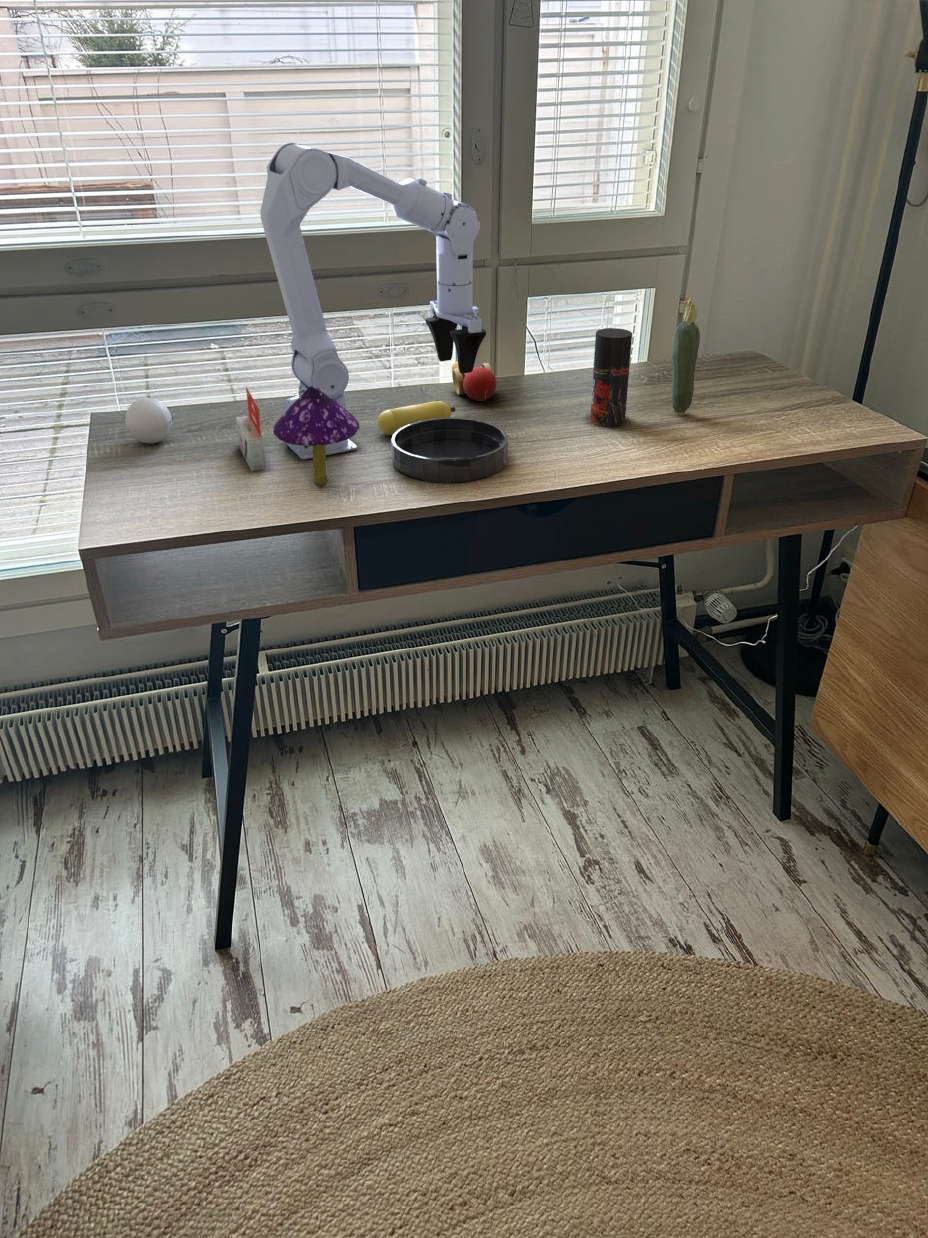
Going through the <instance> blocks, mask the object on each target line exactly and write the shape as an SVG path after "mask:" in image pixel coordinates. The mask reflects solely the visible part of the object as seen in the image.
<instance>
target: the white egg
mask: <svg viewBox="0 0 928 1238" xmlns="http://www.w3.org/2000/svg"><path fill="white" fill-rule="evenodd" d="M124 418H125V420H124V421H125V426H126V429H127V431H128V433H129V434H130V435H131V436H132V438H134V439H136V440H137V441H138V442H140V443H145V444H148V445H149V444H157V443H160V442H161V441H164V440H165V439H166V437H168V436H169V434H170V432H171V430H172V427H173V420H174V419H173V418H174V417H173V416H172V415H171V412H170V409H169V408H168V407H167V406H166V404H164V403H163V402H162V401H160V400H158V399H157V398H151V397H141V398H139V399H136V400H135V401H133V402H132V403H131V404H130V405H129V407H128V408H127V410H126V413H125V415H124Z"/></svg>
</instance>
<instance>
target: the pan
mask: <svg viewBox="0 0 928 1238" xmlns="http://www.w3.org/2000/svg"><path fill="white" fill-rule="evenodd" d="M391 436H392V437H391V440H390V443H391V460H392V464H393V466H394V468H396V469H397V470H398V471H399V472H401V473H403V474H404V475H407V476H409V477H411V478H413V479H417V480H420V481H425V482H427V481H428V482H432V483H446V484H447V483H465V482H472V481H477V480H481V479H483V478H487V477H490V476H492V475H494V474H496V473H497V472H499V471H501V470H502V469H504V467H505V466H506V465H507V463H508V459H509V458H508V454H509V453H508V452H509V435H508V434H507V432H506V431H505V430H504V429H502V428H501V427H500V426H498V425H495V424H493V423H491V422H489V421H484V420H479V419H474V418H465V417H464V418H463V417H450V418H437V419H429V420H423V421H418V422H415V423H412V424H409V425H406V426H404V427H402V428H400V429H398V430H397V431H396V432H395V433H394V434H393V435H391Z"/></svg>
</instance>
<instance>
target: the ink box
mask: <svg viewBox="0 0 928 1238" xmlns="http://www.w3.org/2000/svg"><path fill="white" fill-rule="evenodd" d="M245 390H246V391H245V392H246V400H247V408H248V409H247V411H248V415H245V416H243V415H242V416H236V417H235V420H236V428H237V436H238V444H239V449H240V451H241V453H242V455H243V457H244V459H245V461H246V464H247V466H248V468H249V469H250V472H256V471H262V470H265V469H266V460H265V454H264V453H265V452H264V444H263V437H262V429H261V419H260V409H259V406H258V405H257V403H256V401H255V400H254V397H253V396H252V393H251V392H250V390H249V388H248V387H246V388H245Z"/></svg>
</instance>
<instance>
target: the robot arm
mask: <svg viewBox="0 0 928 1238" xmlns="http://www.w3.org/2000/svg"><path fill="white" fill-rule="evenodd" d="M266 175H267V176H266V177H267V178H266V183H265V187H264V191H263V193H264V194H263V197H262V203H261V207H260V213H259V214H260V221H261V224H262V228H263V231H264V235H265V239H266V242H267V245H268V250H269V253H270V256H271V260H272V263H273V266H274V272H275V275H276V278H277V281H278V286H279V289H280V292H281V296H282V300H283V303H284V307H285V311H286V314H287V317H288V321H289V325H290V329H291V332H292V337H291V341H290V346H291V350H292V357H291V361H290V362H291V363H290V367H291V370H292V373H293V375H294V377H295V378H296V379H297V380H298V381H299V386H298V390H297V395H294V396H293V397H289V398H286V399H285V400H284V403H283V412H284V413H285V412H286V411H287V410H288V408H289V407H290V406H291V405H292V404H293V403H294V402H295V401H296V400H297V399H298V398H299V397H300V396H301V395H302V394H303V393H304V392H305V391H306V390H307V388H309V387H310V386H316V387H318V388H319V389H321V390H322V391H323V392H324V393H325V394H326V395H328V396H329V397H331V398H333V399H334V400H336V401H337V402H338V403H339V404H340V405H341V406H342V407H343V408H344V409H346V408H347V407H346V398H345V397H346V394H345V391H346V389H347V387H348V384H349V380H350V374H349V370H348V367H347V365H346V364H345V363H344V362H343V360H341V359H340V357H339V354H338V350H337V348H336V345H335V344H334V341H333V340H332V338H331V336H330V334H329V333H328V330H327V326H326V322H325V317H324V314H323V310H322V307H321V303H320V299H319V296H318V295H319V294H318V291H317V287H316V283H315V279H314V275H313V272H312V267H311V263H310V260H309V256H308V252H307V248H306V245H305V240H304V237H303V232H302V229H301V224H302V222H303V220H304V219H305V218H306V216H307V214H308V213H309V211H310V210H311V208H312V207H314V206H315V205H316V204H317V203H319V202H320V201H321V200H322V199H324V198H325V197H326V196H328V194H330V192H331V191H332V189H333V190H335V191H341V190H343V189H344V190H345V189H346V188H348V187H349V188H352V189H354V190H357V191H359V192H361V193H364V194H366V195H369V196H371V197H374V198H376V199H378V200H381V201H383V202H386V203H387V204H390V206H391V208H392V211H393V213H394V216H395V217H397V218H398V219H399V220H403V221H405V222H407V223H409V224H412V225H414V226H417V227H418V228H421V229H423V230H425V231H428V232H430V233H432V234H433V235H434V236H435V237H436V238H435V239H436V296H437V297H436V300H431V301H429V310H430V311H429V312H430V314H432V316H431V317H426V318H425V323H426V325H427V327H428V329H429V331H430V334H431V336H432V339H433V342H434V346H435V351H436V355H437V358H438V359H437V360H438V361H439V362H447V361H452V358H453V355H454V347H455V352H456V360H457V361H458V368H459V372H460V373H461V374H464V373H470V372H472V371H473V368H475V362H476V360H477V355H478V352H479V349H480V347H481V345H482V342H483V340H484V339H485V337H486V336H487V330H486V329H485V328H483V327H482V326H483V324H482V322H483V321H482V318H480V317H478V315H477V314H478V313H479V312H480V309H479V307H476V306H475V305H473V303H474V301H473V299H474V297H473V295H474V293H473V288H474V287H473V286H474V285H473V283H474V241H475V239H476V238H477V236H478V234H479V232H480V228H481V221H479V220H478V215H477V212H476V211H475V209H474V207H472V205H470V204H469V203H466V202H461V201H458V200H454V199H453V194H452V193H450V192H448V191H443V192H441V191H438V190H436V189H434V188H431V187H430V186H428V185H427V184H428V181H427V180H425V179H423V178H421V177H415V179H413V178H405V179H403V180H402V181H399V182H397V181H396V180H393V179H391V178H389V177H388V176H385V175H384V174H382V173H380V172H378V171H376V170H374V169H372V168H370V167H368V166H366V165H364V164H362V163H360V162H359V161H356V160H354V159H352V158H350V157H348V156H344V155H340V154H336V153H333V152H329V151H325V150H324V149H321V148H318V147H310V146H309V147H308V146H306V145H303V144H301V143H298V142H287V143H285V144H283V145H281V146H280V147H279V148H278V149H277V150H276V152H275V153H274V155H273V156H272V158H271V159H270V161H269V162H268V164H267V165H266ZM458 326H460V327H461V328H459V329H457V328H458ZM346 410H347V409H346ZM284 413H283V414H284ZM286 445H287V446H288V447H289V449H291V450H292V451H293V452H294V453H295V454H296V455H297V456H298V457H299V459H301V460H309V459H313V446H302V445H294V444H289V443H286ZM355 450H358V446H357V444H355V443H354V442H353V441H352V440H350V438H349V439H347V440H344V441H341V442H338V443H334V444H328V445H326V450H325V451H326V456H330V455H335V454H336V455H337V454H340V453H345V452H351V451H355Z"/></svg>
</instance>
